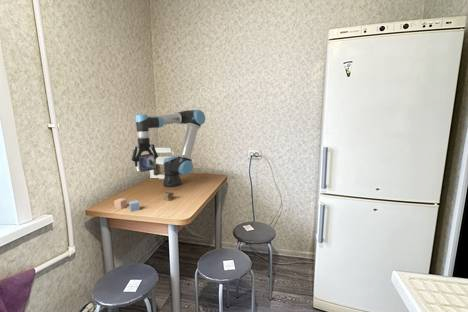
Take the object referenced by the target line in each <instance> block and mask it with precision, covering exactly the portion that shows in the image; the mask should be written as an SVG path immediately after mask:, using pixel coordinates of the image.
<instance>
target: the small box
mask: <svg viewBox="0 0 468 312" xmlns="http://www.w3.org/2000/svg"><path fill="white" fill-rule="evenodd" d="M138 162H139V168H140V171H139V172H140V173H142V172H150V170H154V169H155V160H154V155H151V154H149V153H147V154H141V155H140V156H139V159H138Z"/></svg>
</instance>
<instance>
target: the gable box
mask: <svg viewBox="0 0 468 312" xmlns="http://www.w3.org/2000/svg"><path fill="white" fill-rule="evenodd" d="M155 150H156V152H157V154H159V153H160V154H161V153H163V154H164V153H166V154H167V153H169V154H170V156H158V158H156V163H155V169H154V170H149V175H150V176H149V178H150V179H151V178H159V179H158V180H164V177H165V174H164V171H161V167H160V165H164V164H163V163H164V159H165V158H170V157H177V156H176V154H175V152H174V150H172V148H171V147H155ZM151 152H152V153H153V151H152V150H151ZM153 154H154V153H153ZM151 180H152V179H151Z"/></svg>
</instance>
